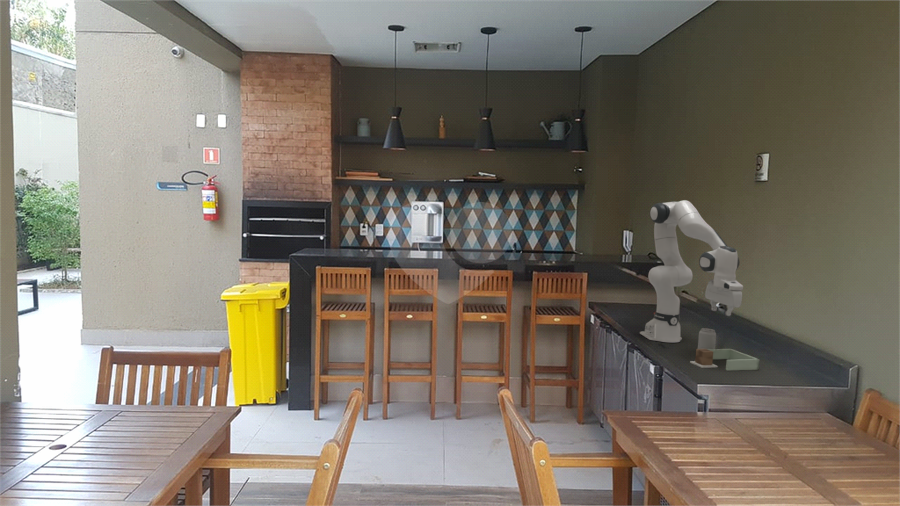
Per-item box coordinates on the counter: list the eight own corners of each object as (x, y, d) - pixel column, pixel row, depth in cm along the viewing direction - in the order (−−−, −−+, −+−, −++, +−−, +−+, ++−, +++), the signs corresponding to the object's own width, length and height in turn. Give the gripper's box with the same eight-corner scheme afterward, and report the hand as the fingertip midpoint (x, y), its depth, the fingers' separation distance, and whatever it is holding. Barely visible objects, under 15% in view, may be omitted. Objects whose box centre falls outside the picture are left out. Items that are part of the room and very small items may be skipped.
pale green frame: (700, 359, 270) (701, 349, 270) (729, 358, 274) (730, 348, 273) (727, 370, 253) (728, 360, 252) (758, 369, 256) (759, 359, 256)
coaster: (690, 362, 263) (690, 361, 263) (705, 362, 265) (705, 360, 265) (701, 367, 255) (701, 366, 255) (717, 367, 257) (717, 365, 257)
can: (715, 356, 276) (718, 331, 274) (699, 355, 277) (701, 330, 276) (712, 352, 283) (714, 328, 282) (695, 351, 284) (697, 327, 283)
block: (695, 362, 262) (696, 349, 261) (704, 361, 263) (705, 348, 263) (702, 365, 257) (703, 351, 257) (712, 365, 258) (713, 351, 258)
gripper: (703, 278, 272) (700, 307, 274) (733, 286, 252) (729, 318, 254) (715, 278, 273) (712, 307, 275) (746, 287, 254) (742, 318, 255)
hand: (720, 313), depth 264 cm, fingers open, 8 cm apart
